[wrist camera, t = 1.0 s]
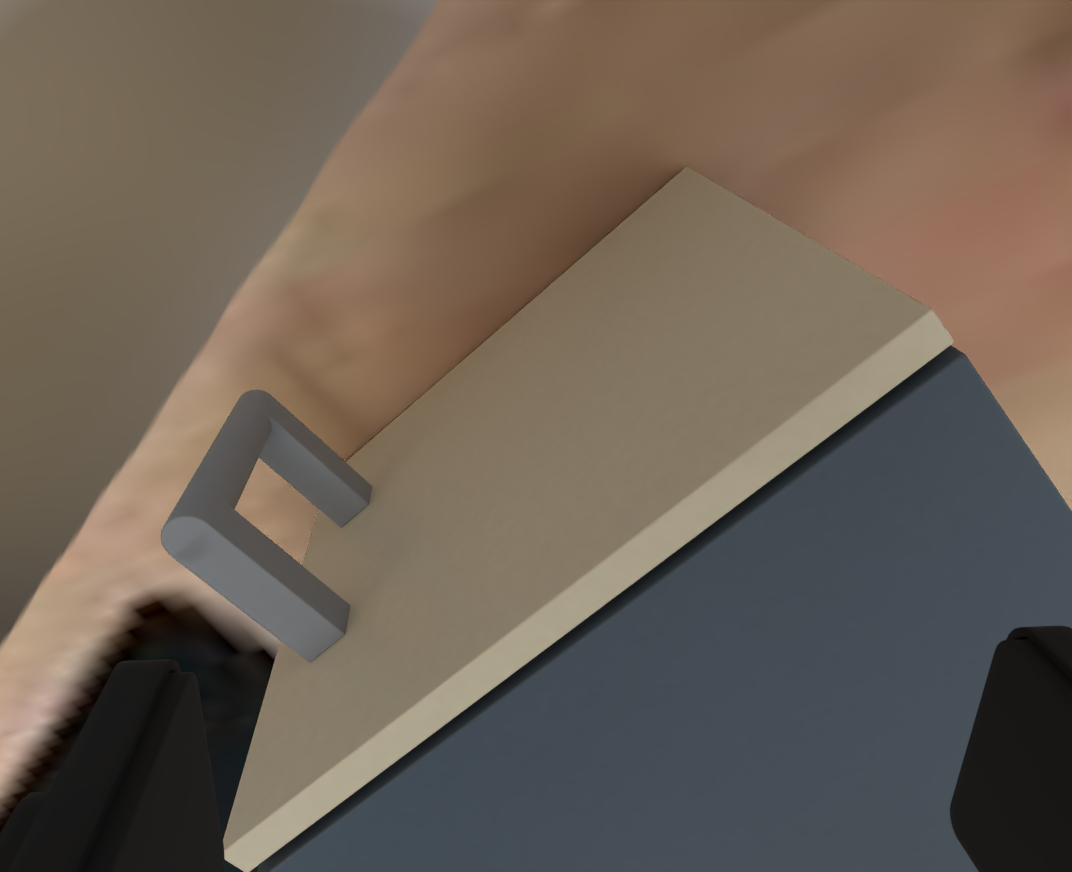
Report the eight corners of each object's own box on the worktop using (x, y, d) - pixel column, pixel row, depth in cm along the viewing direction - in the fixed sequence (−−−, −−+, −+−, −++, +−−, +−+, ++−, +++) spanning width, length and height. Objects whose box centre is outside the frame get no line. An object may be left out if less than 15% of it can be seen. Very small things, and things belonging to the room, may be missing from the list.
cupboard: (346, 492, 43) (253, 884, 23) (702, 187, 39) (965, 352, 19) (544, 667, 49) (605, 1105, 29) (878, 418, 44) (1226, 737, 24)
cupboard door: (225, 388, 41) (8, 724, 21) (595, 44, 36) (764, 60, 16) (342, 490, 43) (246, 874, 24) (700, 183, 38) (956, 342, 19)
